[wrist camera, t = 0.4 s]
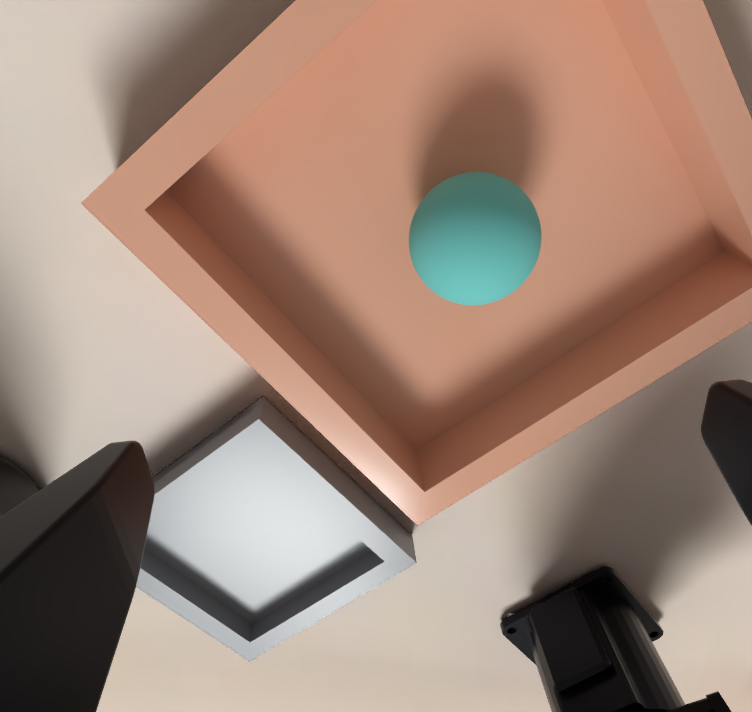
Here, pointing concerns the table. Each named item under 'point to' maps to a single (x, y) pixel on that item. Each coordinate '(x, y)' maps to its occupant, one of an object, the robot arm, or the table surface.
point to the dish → (413, 182)
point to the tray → (264, 534)
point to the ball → (475, 238)
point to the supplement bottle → (13, 486)
